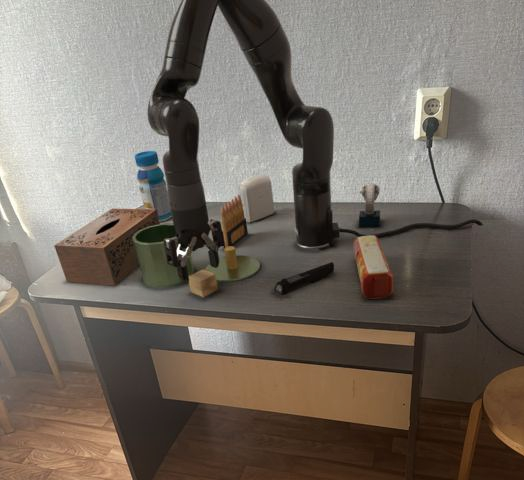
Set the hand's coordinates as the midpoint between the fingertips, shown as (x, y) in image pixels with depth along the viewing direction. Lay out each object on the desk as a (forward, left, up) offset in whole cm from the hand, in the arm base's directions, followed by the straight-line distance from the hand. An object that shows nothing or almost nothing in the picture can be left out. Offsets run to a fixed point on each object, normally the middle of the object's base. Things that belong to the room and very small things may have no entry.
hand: (200, 273), depth 115 cm
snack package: (-38, 0, -5) cm, 39 cm away
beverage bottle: (+20, -54, -5) cm, 58 cm away
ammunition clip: (-6, -28, -5) cm, 29 cm away
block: (0, 0, -5) cm, 5 cm away
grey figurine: (-43, -32, -5) cm, 54 cm away
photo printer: (-12, -46, -5) cm, 48 cm away
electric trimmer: (-23, 0, -5) cm, 24 cm away
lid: (-6, -10, -4) cm, 13 cm away
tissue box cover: (+26, -23, -5) cm, 35 cm away
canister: (+10, -10, -5) cm, 15 cm away
